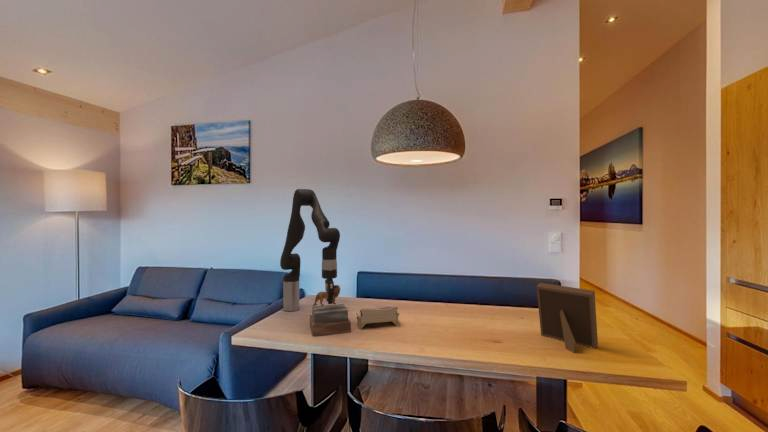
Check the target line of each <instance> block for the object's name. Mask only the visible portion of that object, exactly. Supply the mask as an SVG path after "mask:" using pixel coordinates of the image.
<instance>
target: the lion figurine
mask: <svg viewBox="0 0 768 432" xmlns="http://www.w3.org/2000/svg"><path fill="white" fill-rule="evenodd" d="M340 292H341V286H340V285H338V284H334V296H333V303H332V305H337V303H335V302H336V298H339V295H340ZM330 293H332V292H330ZM326 299H328V292H326V291H319V292H318V293H316V295H315V299H314V303H313V304H312V307H315V306H318V301H319V304H320V306H325V305H324V304H323V300H326Z"/></svg>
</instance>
